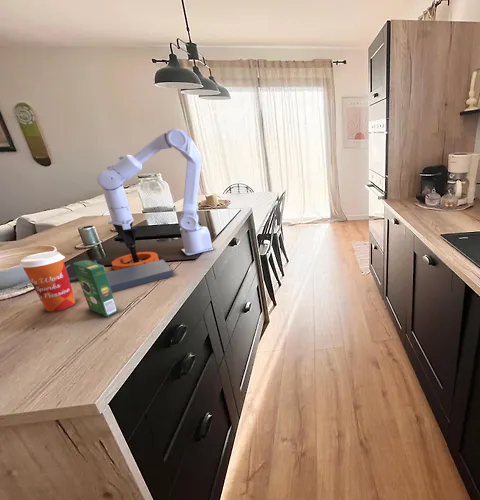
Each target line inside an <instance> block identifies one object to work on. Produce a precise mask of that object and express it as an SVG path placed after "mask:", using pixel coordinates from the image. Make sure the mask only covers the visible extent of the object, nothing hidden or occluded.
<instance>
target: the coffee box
mask: <svg viewBox="0 0 480 500" xmlns="http://www.w3.org/2000/svg"><path fill="white" fill-rule="evenodd" d="M72 263H73V266H74V268H75V271H76V274H77V276H78V279H79V280H78V282H79V284H80V287H81V290H82V292H83V295H84V298H85V301H86V303H87V306H88V309H89V310H91V311H92V312H95V313H97V314H99V315H102V316H104V317H108V318H109V317H110V316H112V315H114V314H117V313H118V307H117V304H116V300H115V298H114V295H113V292H112V291H111V288H110V285H109V281H108V278H107V275H106V273H107V271H106V269H105V266H104V265H103V264H100V263H94V262H91V261H90V260H89V259H88V260H87V259H83V260H79V261H75V263H74V262H72Z"/></svg>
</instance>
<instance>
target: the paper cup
mask: <svg viewBox="0 0 480 500" xmlns="http://www.w3.org/2000/svg"><path fill="white" fill-rule="evenodd" d="M65 258H66V256H64V255H63V254H62V253H60V252H59V251H55V250H53V251H52V250H51V251H44V252H38V253H33V254H30V255H26V256H25V257H23V258H22V259H20V264H19V267H20V268H22V269H23V270H24V273H25V274H26V276H27V278H28V280H29V281H30V283H31V285H32V287H33V289H34V290H35V293H36V294H37V295H38V298H39V300H40V302H41V303H42V305H43V307H44V308H45V310H46V311H47V312H58V311H63V310H65V309H68V308H70V307H72V306H74V304H76V297H75V295H74V291H73V288H72V287H73V286H72V283H71V282H70V280H69V277H68V274H67V270H66V267H65V266H66V265H65V261H64V259H65Z"/></svg>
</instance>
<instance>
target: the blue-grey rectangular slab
mask: <svg viewBox="0 0 480 500" xmlns="http://www.w3.org/2000/svg"><path fill="white" fill-rule="evenodd" d="M106 275H107V278H108V281H109V285H110V288H111V291H112V293H114V292H118V291H121V290H126V289H129V288H133V287H136V286H141V285H143V284H144V285H145V284H148V283H152V282H154V281H159V280H162V279H166V278H170V277H173V276H174V273H173V270H172V268H171V267H170V266H169V264H168V263H167V262H166V261H165V259H159V261H154V262H150V263H146V264H141V265H137V266H133V267H128V268H124V269H120V270H112V271H106Z"/></svg>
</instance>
